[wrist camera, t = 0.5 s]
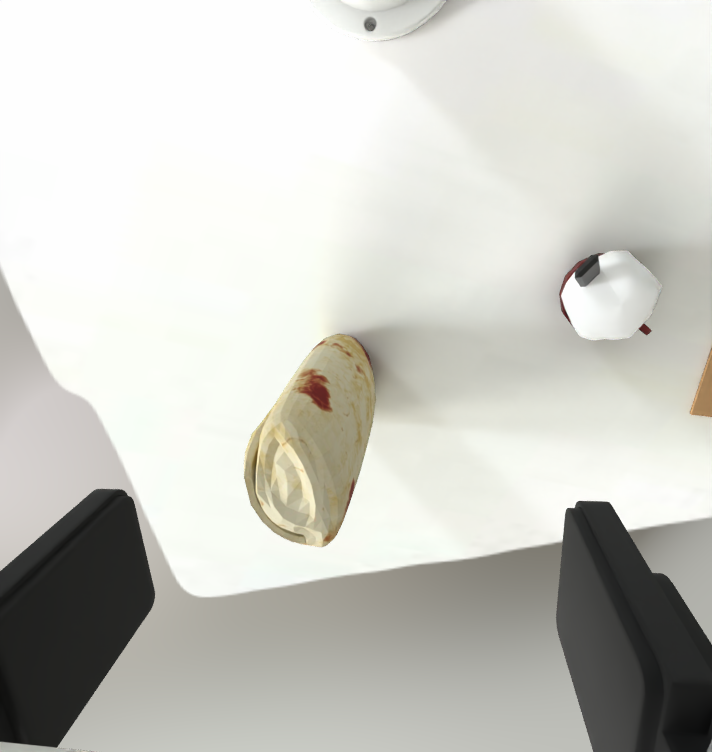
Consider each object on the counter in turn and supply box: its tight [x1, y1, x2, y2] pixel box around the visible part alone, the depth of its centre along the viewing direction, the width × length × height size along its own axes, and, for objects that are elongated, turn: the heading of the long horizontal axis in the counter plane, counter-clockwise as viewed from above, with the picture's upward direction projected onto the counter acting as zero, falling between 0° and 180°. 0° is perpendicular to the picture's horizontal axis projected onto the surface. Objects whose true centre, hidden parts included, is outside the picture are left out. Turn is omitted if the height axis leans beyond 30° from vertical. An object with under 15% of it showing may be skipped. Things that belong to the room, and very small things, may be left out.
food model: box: [244, 334, 376, 547], centre depth 36 cm, size 10×7×20 cm
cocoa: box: [559, 250, 662, 341], centre depth 34 cm, size 10×6×12 cm, turn 29°
